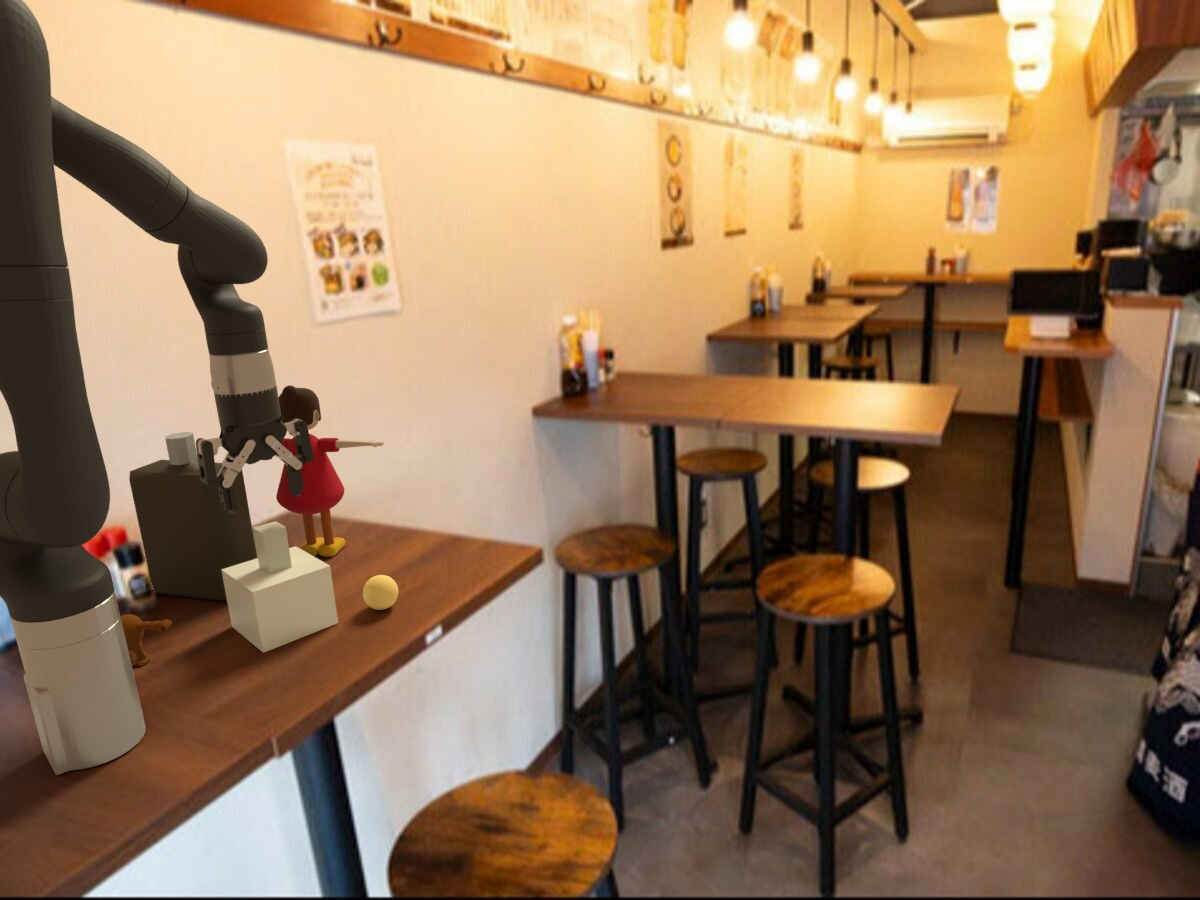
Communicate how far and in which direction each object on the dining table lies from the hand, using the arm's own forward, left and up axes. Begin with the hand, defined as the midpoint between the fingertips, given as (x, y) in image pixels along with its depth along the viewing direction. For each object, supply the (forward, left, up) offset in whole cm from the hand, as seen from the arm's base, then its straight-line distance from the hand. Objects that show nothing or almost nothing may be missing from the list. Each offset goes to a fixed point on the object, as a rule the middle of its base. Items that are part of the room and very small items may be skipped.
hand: (265, 503), depth 108 cm
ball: (+12, -6, -16) cm, 21 cm away
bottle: (-3, +21, -19) cm, 28 cm away
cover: (0, 0, -18) cm, 18 cm away
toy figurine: (-18, +5, -18) cm, 26 cm away
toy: (+15, +20, -18) cm, 31 cm away
